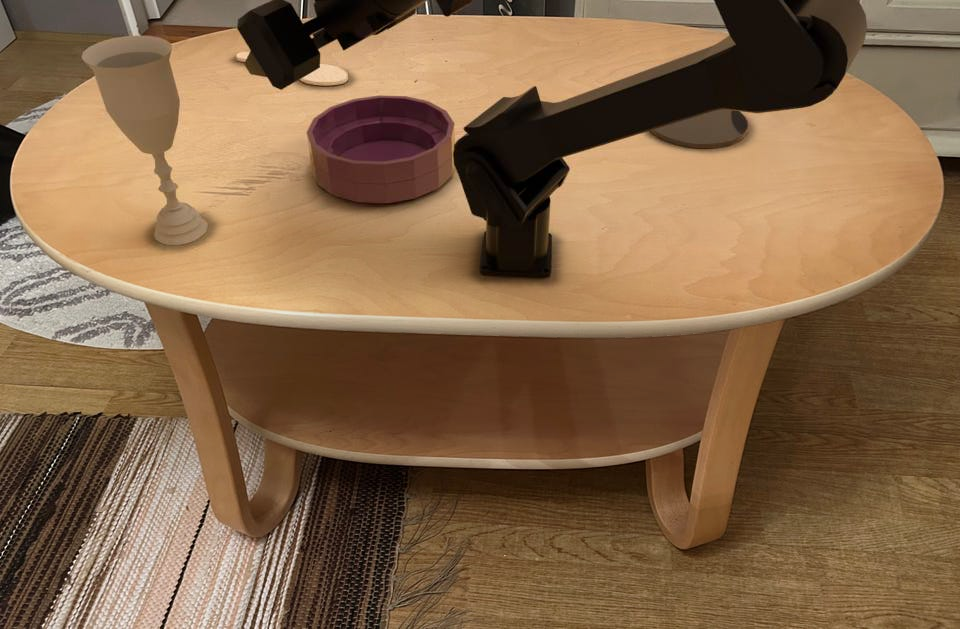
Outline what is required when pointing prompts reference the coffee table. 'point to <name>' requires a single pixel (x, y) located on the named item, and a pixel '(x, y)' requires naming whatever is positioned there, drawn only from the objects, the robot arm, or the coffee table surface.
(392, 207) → the coffee table surface
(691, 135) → the slate coaster
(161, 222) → the chalice
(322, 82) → the spoon
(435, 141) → the plum bowl
